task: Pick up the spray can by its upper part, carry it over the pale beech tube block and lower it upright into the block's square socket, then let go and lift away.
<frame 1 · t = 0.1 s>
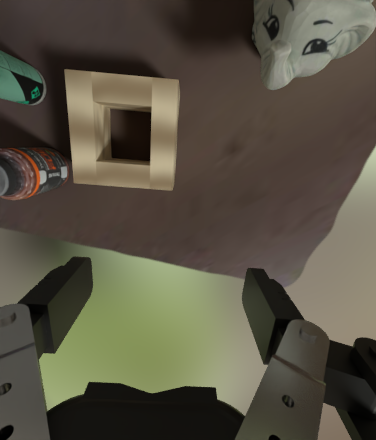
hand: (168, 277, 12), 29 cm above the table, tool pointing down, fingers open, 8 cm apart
supplement bottle: (51, 167, 38), on the table
grey animal cookie jar: (279, 38, 33), on the table
spray can: (28, 85, 34), on the table
tube block: (134, 136, 37), on the table
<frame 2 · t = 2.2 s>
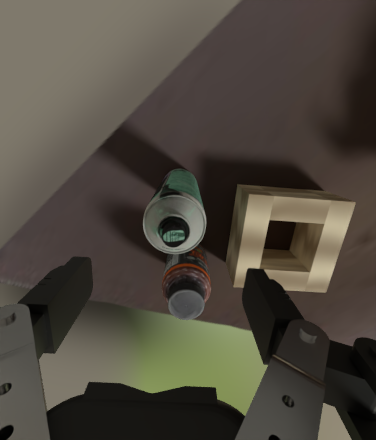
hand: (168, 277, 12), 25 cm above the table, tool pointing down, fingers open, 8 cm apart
supplement bottle: (186, 255, 40), on the table
spray can: (179, 185, 36), on the table
tube block: (272, 228, 38), on the table
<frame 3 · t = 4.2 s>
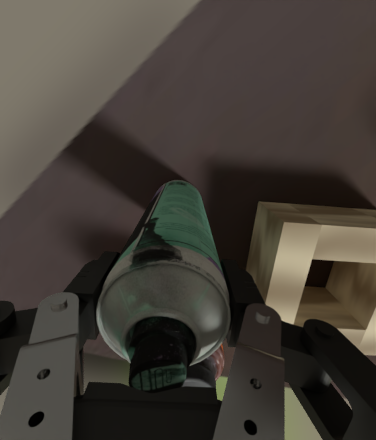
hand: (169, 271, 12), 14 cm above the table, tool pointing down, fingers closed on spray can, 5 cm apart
supplement bottle: (187, 293, 30), on the table
spray can: (178, 203, 26), on the table, touching gripper
tube block: (304, 260, 28), on the table
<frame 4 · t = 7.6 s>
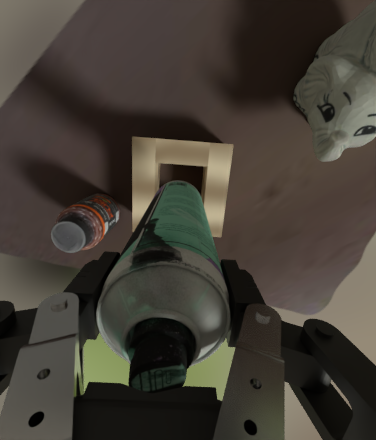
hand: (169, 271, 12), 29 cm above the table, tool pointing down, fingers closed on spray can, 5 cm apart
supplement bottle: (103, 210, 42), on the table
grey animal cookie jar: (317, 98, 36), on the table
spray can: (178, 204, 26), point 15 cm above the table, touching gripper
tube block: (180, 182, 40), on the table
when the fingers open (15 cm above the table, at t = 11.0 s): spray can drops 1 cm, resting in tube block.
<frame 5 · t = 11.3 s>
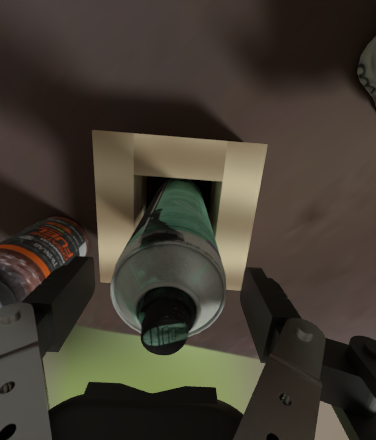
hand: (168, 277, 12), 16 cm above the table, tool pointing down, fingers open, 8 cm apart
supplement bottle: (64, 239, 29), on the table
spray can: (179, 199, 27), resting in tube block
tube block: (178, 200, 27), on the table
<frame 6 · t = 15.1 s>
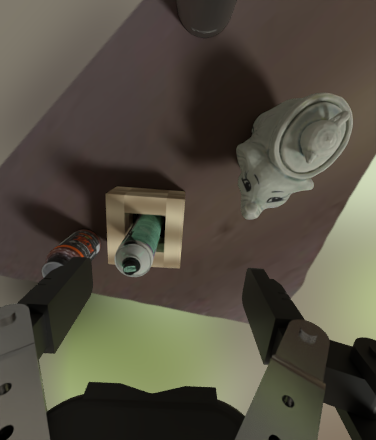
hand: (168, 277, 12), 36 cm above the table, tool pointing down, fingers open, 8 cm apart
supplement bottle: (87, 241, 51), on the table
grey animal cookie jar: (258, 156, 45), on the table
spray can: (151, 220, 49), resting in tube block
tube block: (150, 220, 49), on the table
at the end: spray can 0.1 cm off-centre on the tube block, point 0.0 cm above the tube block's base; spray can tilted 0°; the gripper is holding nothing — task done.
